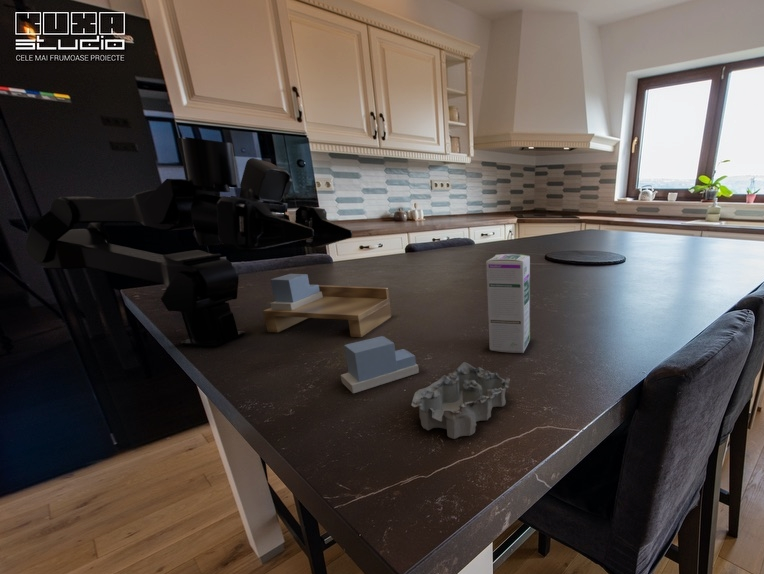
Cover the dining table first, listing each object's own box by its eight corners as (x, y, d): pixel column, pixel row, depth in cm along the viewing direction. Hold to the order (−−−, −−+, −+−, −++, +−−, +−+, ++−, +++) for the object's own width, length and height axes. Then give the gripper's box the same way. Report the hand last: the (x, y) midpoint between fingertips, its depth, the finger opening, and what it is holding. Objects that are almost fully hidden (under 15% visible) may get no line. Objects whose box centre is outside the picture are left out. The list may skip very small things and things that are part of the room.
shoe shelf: (267, 332, 71) (260, 299, 69) (309, 312, 82) (304, 284, 80) (361, 337, 68) (356, 303, 66) (391, 316, 79) (388, 287, 77)
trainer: (353, 393, 49) (346, 355, 47) (341, 382, 52) (335, 346, 50) (419, 372, 55) (415, 338, 53) (405, 364, 58) (402, 330, 56)
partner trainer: (291, 310, 69) (285, 281, 68) (271, 309, 70) (264, 280, 68) (323, 297, 78) (318, 271, 76) (304, 296, 78) (299, 270, 77)
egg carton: (462, 446, 39) (460, 410, 38) (407, 424, 43) (403, 391, 41) (516, 399, 48) (516, 369, 46) (466, 385, 51) (464, 356, 50)
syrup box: (524, 354, 61) (525, 260, 56) (487, 351, 62) (485, 258, 57) (530, 341, 67) (531, 254, 61) (496, 338, 68) (494, 253, 62)
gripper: (168, 144, 47) (286, 160, 45) (280, 170, 65) (369, 183, 63) (176, 239, 50) (288, 258, 48) (282, 239, 68) (366, 253, 66)
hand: (333, 233), depth 56 cm, fingers open, 9 cm apart
